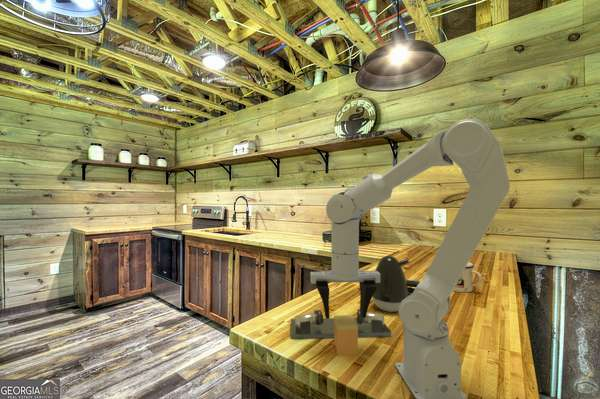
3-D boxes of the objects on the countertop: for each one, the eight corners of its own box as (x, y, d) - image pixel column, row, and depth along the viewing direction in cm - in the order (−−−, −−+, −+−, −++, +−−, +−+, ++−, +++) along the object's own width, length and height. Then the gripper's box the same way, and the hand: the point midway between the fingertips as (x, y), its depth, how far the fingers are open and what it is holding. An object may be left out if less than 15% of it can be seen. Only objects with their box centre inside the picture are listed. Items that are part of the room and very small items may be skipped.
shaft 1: (299, 335, 62) (299, 317, 62) (294, 329, 65) (294, 311, 65) (323, 330, 64) (323, 312, 64) (317, 324, 67) (317, 308, 67)
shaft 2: (384, 327, 66) (384, 310, 66) (383, 333, 63) (383, 315, 63) (358, 323, 68) (358, 307, 68) (357, 329, 65) (357, 312, 65)
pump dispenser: (412, 317, 74) (412, 260, 74) (372, 314, 76) (371, 258, 76) (405, 303, 84) (405, 253, 84) (370, 300, 86) (370, 251, 86)
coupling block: (352, 342, 61) (352, 315, 61) (357, 355, 56) (357, 325, 56) (334, 342, 61) (334, 315, 61) (338, 355, 56) (338, 326, 56)
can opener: (440, 299, 87) (440, 281, 87) (432, 305, 82) (432, 286, 82) (388, 287, 100) (387, 271, 100) (378, 291, 95) (378, 275, 95)
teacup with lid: (438, 287, 98) (438, 254, 98) (451, 283, 103) (451, 251, 103) (475, 297, 88) (475, 261, 88) (488, 292, 93) (487, 257, 93)
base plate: (391, 336, 63) (391, 332, 63) (291, 338, 63) (290, 334, 63) (380, 321, 71) (380, 317, 71) (290, 323, 71) (290, 319, 71)
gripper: (373, 248, 63) (373, 308, 63) (309, 248, 62) (309, 309, 62) (383, 254, 56) (383, 322, 56) (311, 255, 55) (312, 323, 55)
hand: (345, 316), depth 59 cm, fingers open, 7 cm apart
